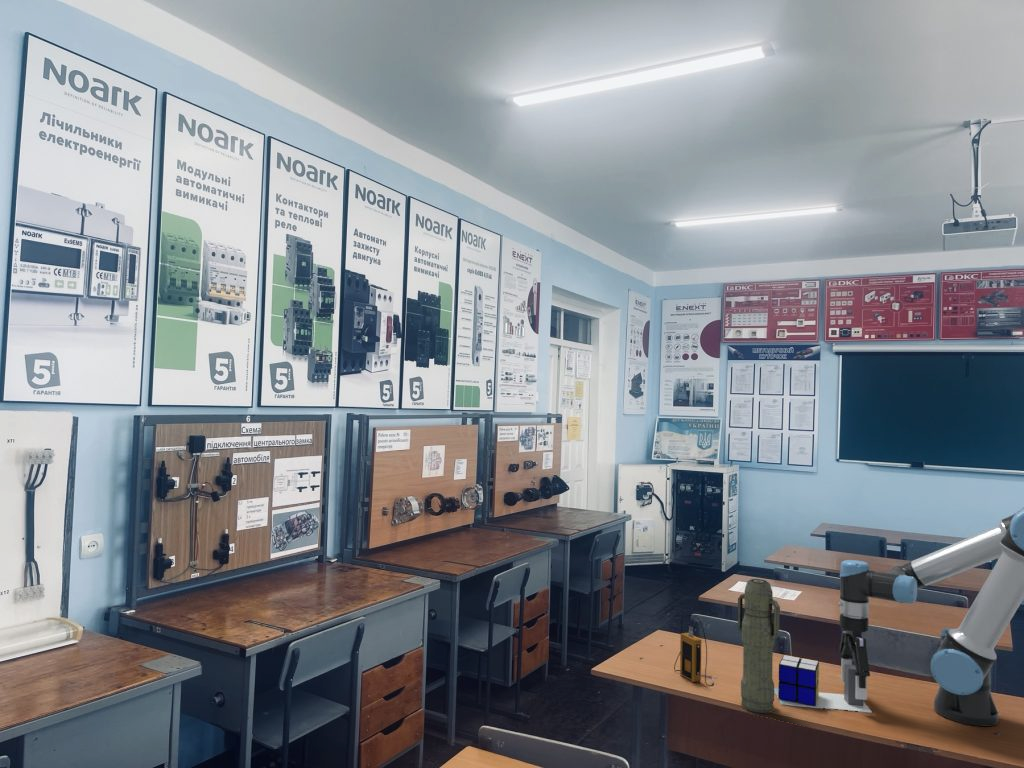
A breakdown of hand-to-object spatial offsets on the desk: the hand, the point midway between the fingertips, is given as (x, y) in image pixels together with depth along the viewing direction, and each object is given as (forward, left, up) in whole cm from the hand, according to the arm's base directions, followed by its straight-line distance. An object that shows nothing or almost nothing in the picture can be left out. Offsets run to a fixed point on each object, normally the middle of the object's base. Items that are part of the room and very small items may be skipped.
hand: (853, 690), depth 203 cm
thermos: (+28, +9, -4) cm, 30 cm away
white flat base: (+9, 0, -4) cm, 10 cm away
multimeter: (+42, -11, -4) cm, 44 cm away
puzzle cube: (+15, 0, -4) cm, 15 cm away
